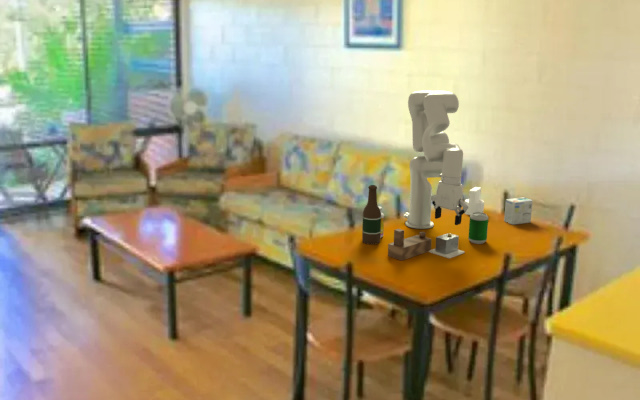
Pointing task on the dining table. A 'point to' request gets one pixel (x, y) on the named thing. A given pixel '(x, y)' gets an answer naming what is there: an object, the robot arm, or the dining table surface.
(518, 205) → the light bulb box
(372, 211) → the beer bottle
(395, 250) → the body
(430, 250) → the felt pad
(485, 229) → the soda can
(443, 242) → the grey stone box
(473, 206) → the base with upright slab
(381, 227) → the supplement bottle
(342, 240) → the dining table surface
